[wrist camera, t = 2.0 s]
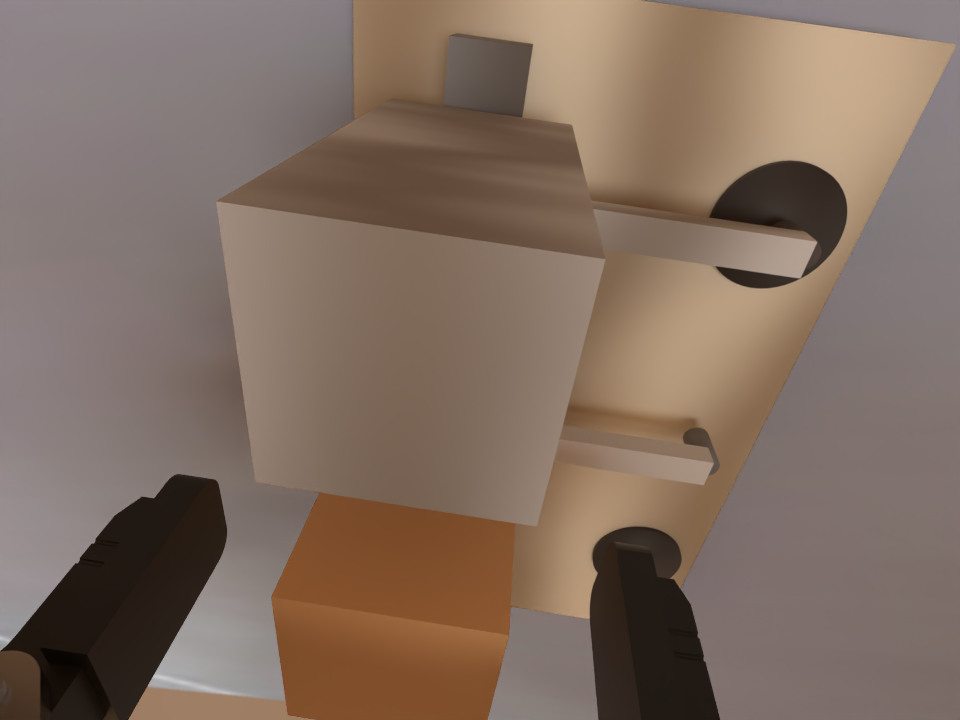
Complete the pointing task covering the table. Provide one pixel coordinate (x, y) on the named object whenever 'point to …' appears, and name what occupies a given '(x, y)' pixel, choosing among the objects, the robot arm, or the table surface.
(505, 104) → the pitch plate
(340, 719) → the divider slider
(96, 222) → the table surface
